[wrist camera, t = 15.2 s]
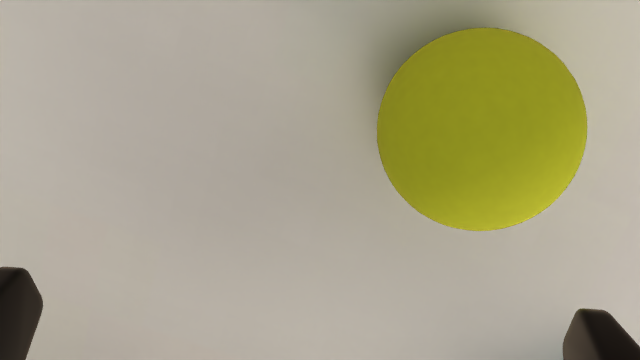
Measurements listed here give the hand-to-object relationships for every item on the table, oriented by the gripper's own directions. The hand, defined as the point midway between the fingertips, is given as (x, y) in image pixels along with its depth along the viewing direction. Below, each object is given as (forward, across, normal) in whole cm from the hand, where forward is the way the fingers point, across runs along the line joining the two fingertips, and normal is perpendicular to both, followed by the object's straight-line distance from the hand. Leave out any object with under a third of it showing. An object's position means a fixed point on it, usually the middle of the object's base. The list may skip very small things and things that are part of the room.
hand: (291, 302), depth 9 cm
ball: (+9, -4, +2) cm, 10 cm away
